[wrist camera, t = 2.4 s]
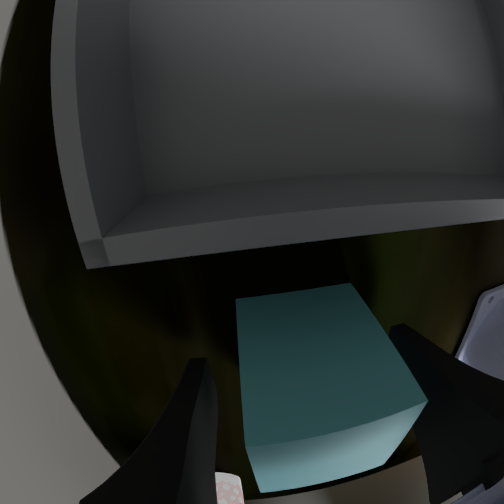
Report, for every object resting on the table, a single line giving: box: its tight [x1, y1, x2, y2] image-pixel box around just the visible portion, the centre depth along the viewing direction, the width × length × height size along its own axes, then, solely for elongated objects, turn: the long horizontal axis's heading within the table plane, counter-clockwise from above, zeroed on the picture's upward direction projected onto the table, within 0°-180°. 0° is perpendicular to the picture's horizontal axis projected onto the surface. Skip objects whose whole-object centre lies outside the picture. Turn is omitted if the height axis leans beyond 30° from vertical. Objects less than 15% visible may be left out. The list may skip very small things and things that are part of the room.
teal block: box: [236, 283, 428, 493], centre depth 9 cm, size 4×4×6 cm
